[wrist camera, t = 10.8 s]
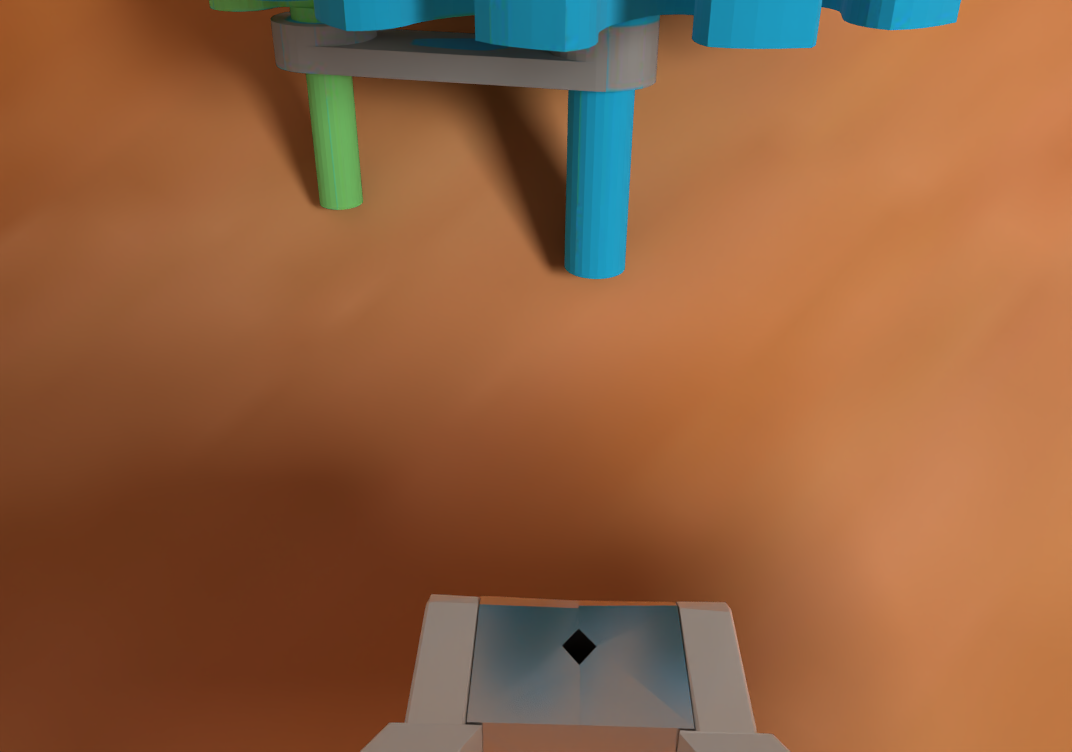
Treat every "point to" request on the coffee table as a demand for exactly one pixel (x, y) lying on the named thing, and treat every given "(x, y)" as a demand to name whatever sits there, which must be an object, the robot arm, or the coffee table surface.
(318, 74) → the gear
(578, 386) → the coffee table surface
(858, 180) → the coffee table surface
